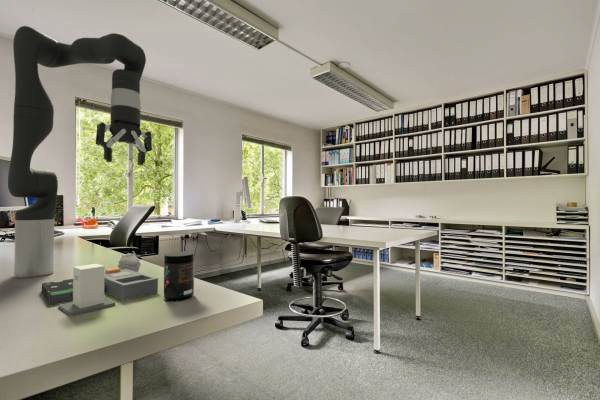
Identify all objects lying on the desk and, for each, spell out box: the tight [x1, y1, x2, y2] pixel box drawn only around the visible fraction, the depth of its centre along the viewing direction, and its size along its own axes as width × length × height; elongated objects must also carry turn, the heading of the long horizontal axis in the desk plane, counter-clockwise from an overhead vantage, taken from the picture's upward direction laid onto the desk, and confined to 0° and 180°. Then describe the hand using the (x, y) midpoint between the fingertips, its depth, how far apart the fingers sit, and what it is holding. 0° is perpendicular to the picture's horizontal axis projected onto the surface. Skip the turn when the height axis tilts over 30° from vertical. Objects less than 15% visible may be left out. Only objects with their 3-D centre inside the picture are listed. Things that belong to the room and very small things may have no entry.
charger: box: [72, 263, 106, 308], centre depth 65 cm, size 4×4×8 cm
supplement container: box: [163, 251, 195, 302], centre depth 71 cm, size 7×7×10 cm
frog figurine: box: [117, 253, 142, 273], centre depth 91 cm, size 6×7×7 cm
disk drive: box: [41, 278, 73, 306], centre depth 74 cm, size 10×3×15 cm
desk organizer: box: [104, 267, 159, 301], centre depth 79 cm, size 24×8×4 cm, turn 53°
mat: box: [57, 296, 116, 317], centre depth 64 cm, size 8×8×1 cm
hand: (125, 163), depth 87 cm, fingers open, 8 cm apart
